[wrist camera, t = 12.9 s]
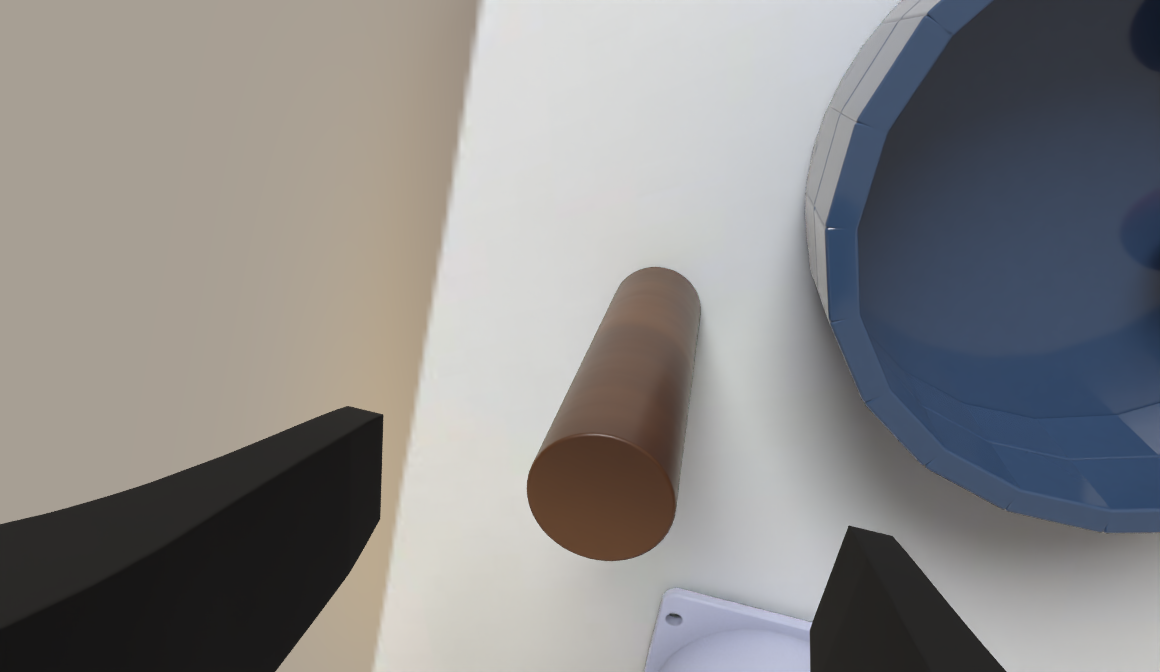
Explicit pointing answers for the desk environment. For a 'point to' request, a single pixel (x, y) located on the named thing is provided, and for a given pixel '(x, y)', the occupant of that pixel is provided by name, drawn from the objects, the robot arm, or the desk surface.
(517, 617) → the desk surface
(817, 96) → the desk surface
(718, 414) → the desk surface
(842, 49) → the desk surface
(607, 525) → the stirring stick
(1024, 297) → the bowl
